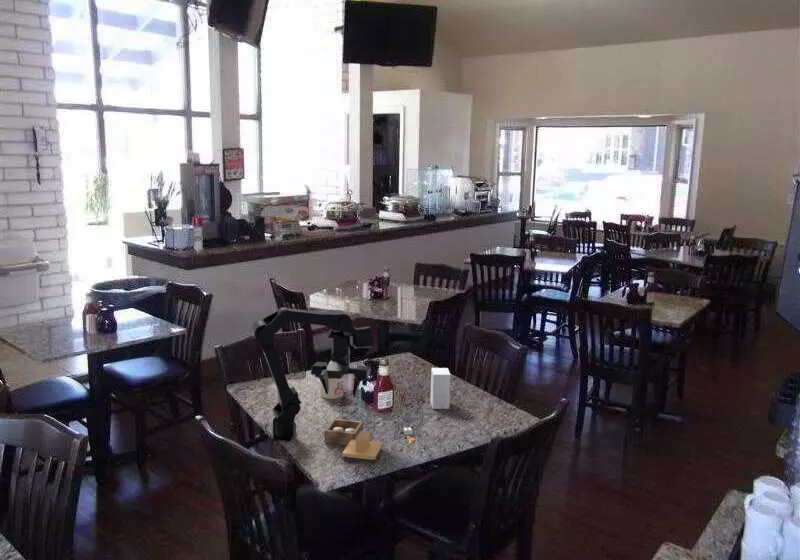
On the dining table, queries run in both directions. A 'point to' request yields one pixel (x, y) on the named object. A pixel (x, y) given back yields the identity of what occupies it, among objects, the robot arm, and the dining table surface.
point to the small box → (440, 388)
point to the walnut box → (342, 431)
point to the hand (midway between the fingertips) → (340, 395)
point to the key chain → (408, 433)
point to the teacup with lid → (332, 389)
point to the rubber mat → (363, 459)
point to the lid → (362, 447)
